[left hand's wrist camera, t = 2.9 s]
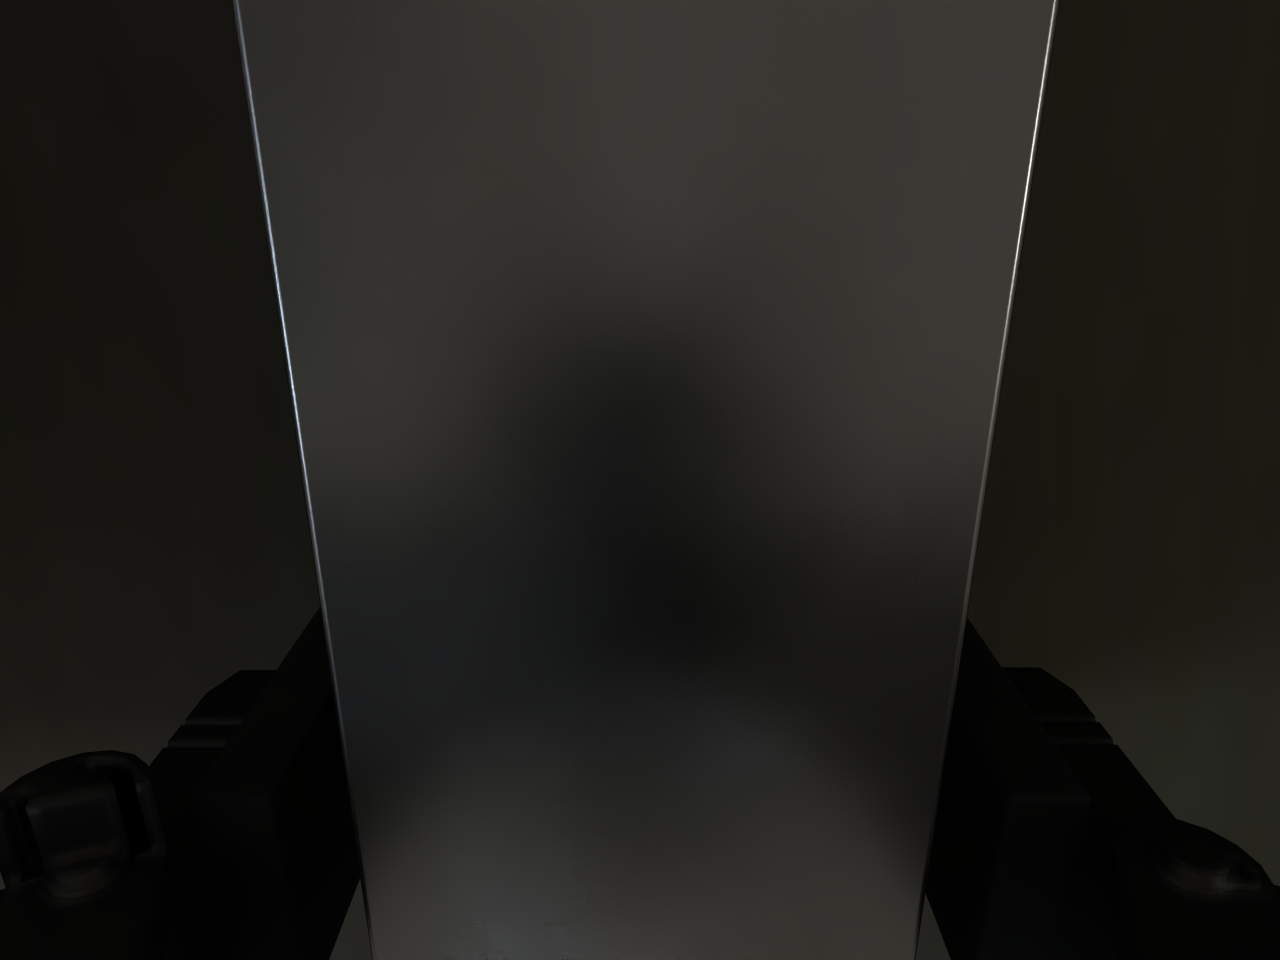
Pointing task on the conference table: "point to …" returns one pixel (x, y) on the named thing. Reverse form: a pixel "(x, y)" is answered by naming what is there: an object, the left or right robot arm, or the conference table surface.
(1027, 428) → the conference table surface
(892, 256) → the bar
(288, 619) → the conference table surface
